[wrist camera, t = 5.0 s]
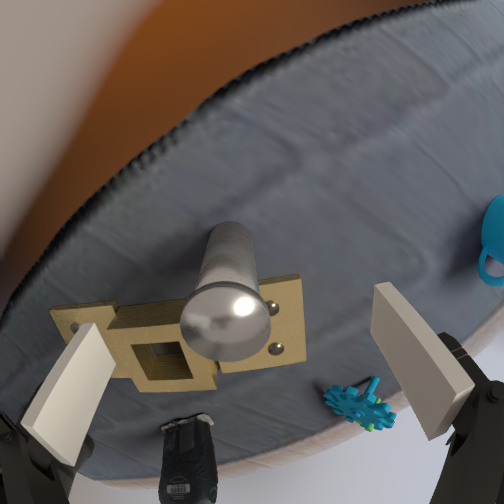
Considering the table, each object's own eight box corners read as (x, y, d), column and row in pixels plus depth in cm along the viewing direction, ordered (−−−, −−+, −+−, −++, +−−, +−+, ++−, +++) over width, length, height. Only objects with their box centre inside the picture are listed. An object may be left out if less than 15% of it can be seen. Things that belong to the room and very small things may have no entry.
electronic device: (175, 439, 35) (164, 521, 21) (152, 421, 33) (135, 509, 19) (227, 429, 34) (228, 522, 20) (207, 410, 32) (201, 512, 18)
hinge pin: (210, 267, 25) (193, 365, 13) (201, 222, 23) (168, 296, 12) (258, 260, 25) (275, 355, 13) (251, 213, 23) (265, 282, 12)
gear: (310, 386, 30) (387, 407, 22) (335, 349, 33) (408, 361, 25) (334, 424, 33) (395, 442, 26) (353, 393, 37) (412, 406, 29)
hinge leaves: (88, 371, 29) (77, 393, 25) (53, 306, 25) (36, 325, 22) (304, 354, 29) (312, 380, 25) (298, 273, 25) (308, 296, 21)
